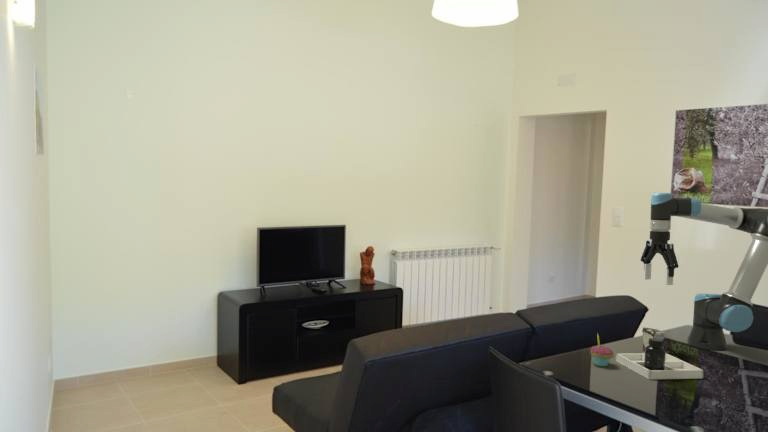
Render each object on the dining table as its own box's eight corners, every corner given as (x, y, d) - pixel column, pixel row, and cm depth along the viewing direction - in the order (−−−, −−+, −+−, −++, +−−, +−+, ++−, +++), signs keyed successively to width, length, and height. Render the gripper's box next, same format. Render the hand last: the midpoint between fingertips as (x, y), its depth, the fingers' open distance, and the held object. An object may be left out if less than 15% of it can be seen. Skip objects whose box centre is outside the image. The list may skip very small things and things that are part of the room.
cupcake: (587, 365, 223) (589, 334, 223) (591, 359, 231) (592, 329, 230) (611, 369, 219) (613, 337, 219) (614, 363, 227) (616, 332, 226)
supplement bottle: (639, 369, 218) (641, 337, 217) (656, 368, 219) (658, 337, 219) (651, 375, 211) (653, 342, 211) (668, 374, 213) (670, 342, 212)
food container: (669, 360, 235) (670, 335, 234) (653, 359, 235) (655, 334, 234) (655, 351, 247) (657, 327, 246) (640, 350, 247) (642, 327, 247)
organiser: (665, 360, 234) (665, 353, 233) (703, 378, 213) (703, 370, 212) (615, 361, 230) (616, 353, 230) (649, 379, 209) (649, 371, 209)
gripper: (633, 228, 252) (631, 277, 253) (672, 233, 228) (670, 287, 229) (648, 228, 254) (646, 276, 255) (689, 233, 229) (687, 287, 231)
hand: (658, 282), depth 242 cm, fingers open, 13 cm apart
